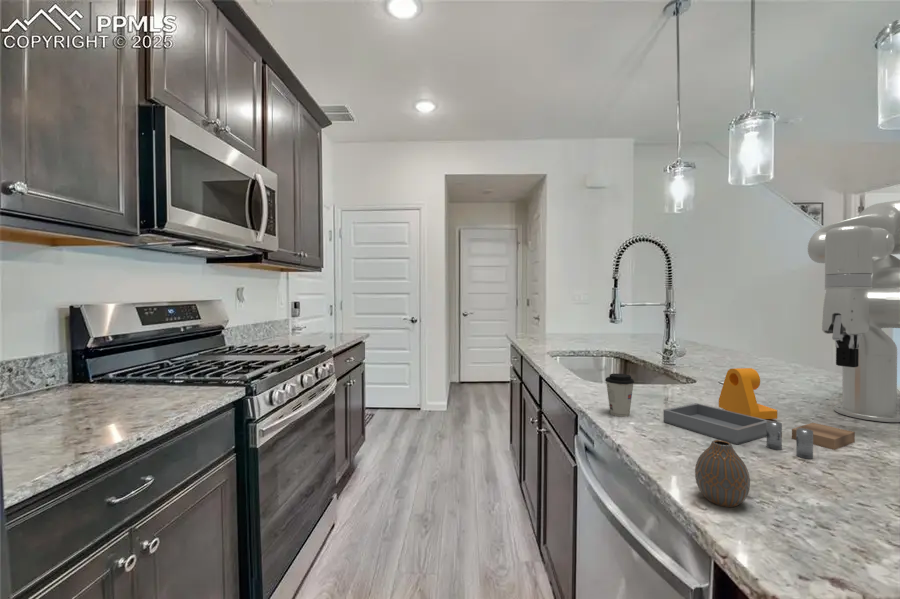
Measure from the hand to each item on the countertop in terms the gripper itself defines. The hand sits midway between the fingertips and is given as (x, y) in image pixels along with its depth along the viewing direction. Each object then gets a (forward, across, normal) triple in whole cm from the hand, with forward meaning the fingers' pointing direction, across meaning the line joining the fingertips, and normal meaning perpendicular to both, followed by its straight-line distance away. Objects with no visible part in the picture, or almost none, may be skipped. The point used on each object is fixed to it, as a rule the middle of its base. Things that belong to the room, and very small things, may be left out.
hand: (847, 366), depth 90 cm
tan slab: (+15, +10, 0) cm, 19 cm away
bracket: (+15, +5, -17) cm, 23 cm away
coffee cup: (+15, +32, -33) cm, 49 cm away
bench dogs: (+15, +24, 0) cm, 28 cm away
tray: (+15, +22, -15) cm, 31 cm away
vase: (+16, +54, +5) cm, 57 cm away
